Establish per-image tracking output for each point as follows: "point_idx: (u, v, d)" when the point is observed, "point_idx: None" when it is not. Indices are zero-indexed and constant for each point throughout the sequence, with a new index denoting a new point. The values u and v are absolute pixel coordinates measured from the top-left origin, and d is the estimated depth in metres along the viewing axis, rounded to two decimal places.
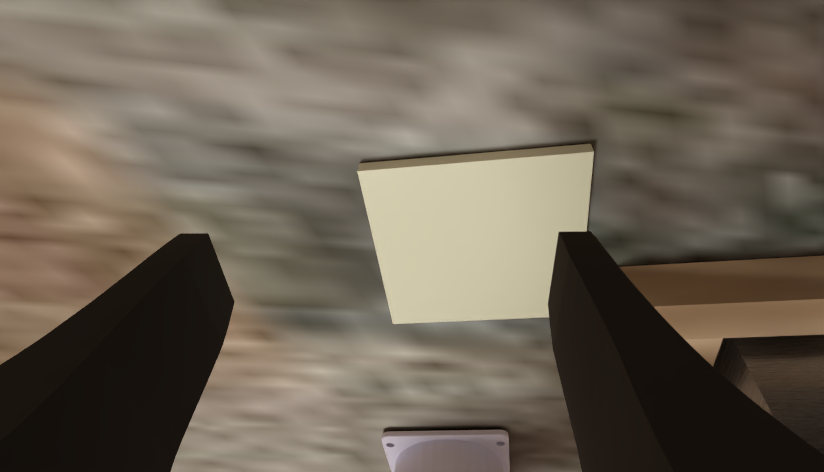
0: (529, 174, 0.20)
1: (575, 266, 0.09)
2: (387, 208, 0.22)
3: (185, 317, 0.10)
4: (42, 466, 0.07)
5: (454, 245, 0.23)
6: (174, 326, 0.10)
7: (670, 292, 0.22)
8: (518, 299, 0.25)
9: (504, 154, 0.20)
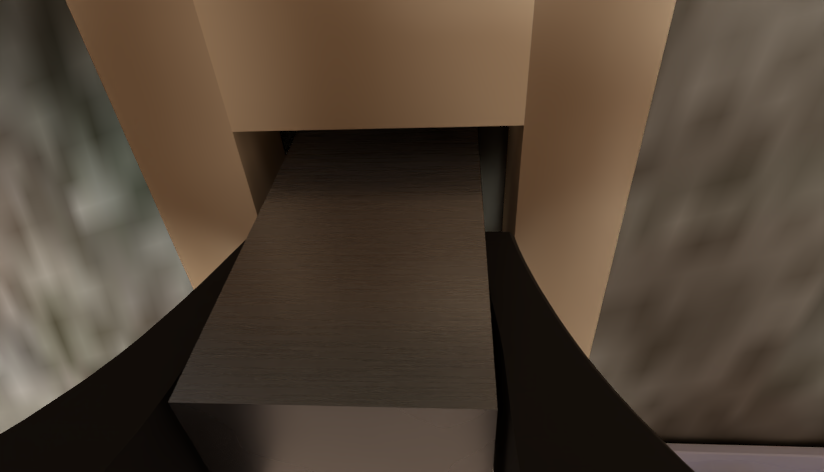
0: None
1: None
2: None
3: None
4: (157, 470, 0.07)
5: None
6: None
7: None
8: None
9: None
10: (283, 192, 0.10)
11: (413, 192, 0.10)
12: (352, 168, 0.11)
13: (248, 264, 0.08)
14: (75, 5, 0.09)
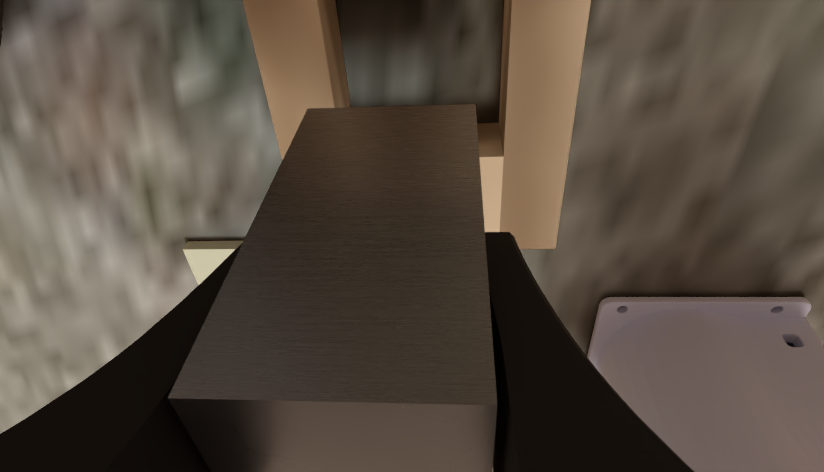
0: None
1: None
2: None
3: None
4: (157, 470, 0.07)
5: None
6: None
7: None
8: None
9: None
10: (283, 189, 0.10)
11: (413, 190, 0.10)
12: (352, 165, 0.10)
13: (248, 261, 0.08)
14: None
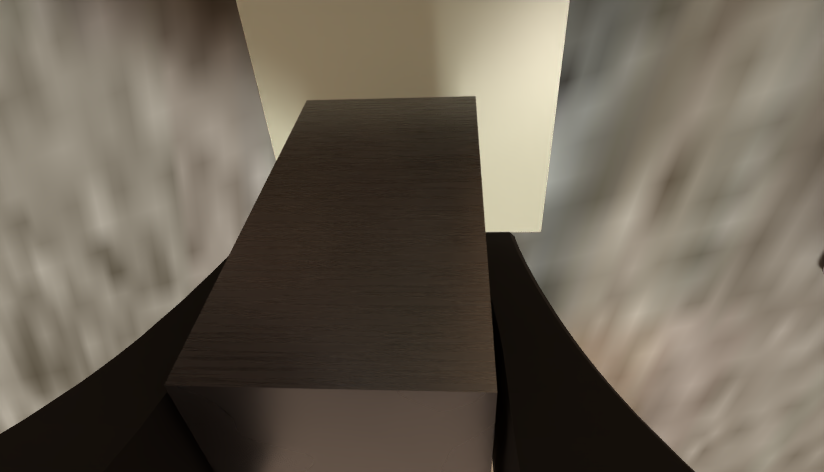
0: (275, 54, 0.15)
1: None
2: None
3: None
4: (157, 470, 0.07)
5: None
6: None
7: None
8: (514, 63, 0.15)
9: (260, 81, 0.16)
10: (281, 179, 0.10)
11: (412, 180, 0.10)
12: (351, 156, 0.10)
13: (246, 250, 0.08)
14: None
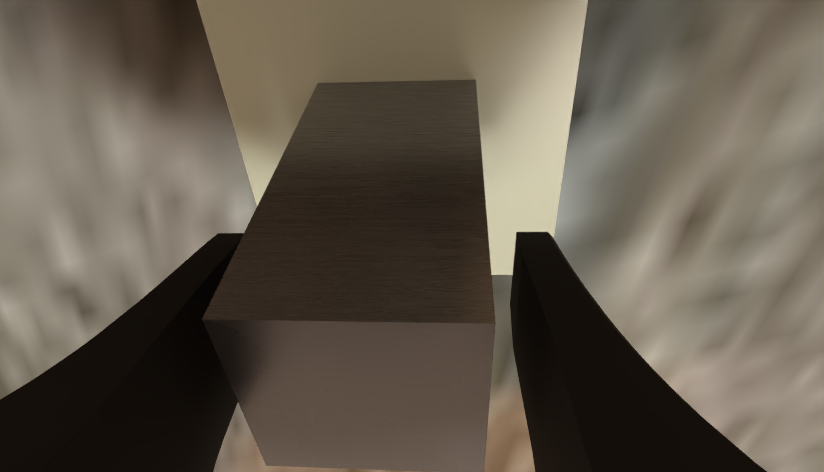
0: (251, 85, 0.14)
1: (527, 266, 0.09)
2: None
3: None
4: (102, 468, 0.07)
5: None
6: None
7: None
8: (521, 96, 0.13)
9: (235, 114, 0.15)
10: (297, 151, 0.11)
11: (418, 152, 0.10)
12: (361, 131, 0.11)
13: (268, 210, 0.09)
14: None
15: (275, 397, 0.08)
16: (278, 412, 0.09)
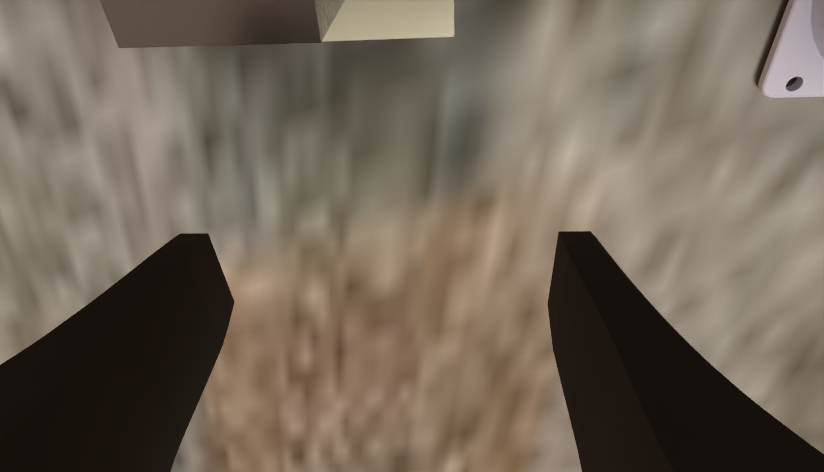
0: None
1: (575, 266, 0.09)
2: None
3: (185, 317, 0.10)
4: (42, 466, 0.07)
5: None
6: (174, 326, 0.10)
7: None
8: None
9: None
10: None
11: None
12: None
13: None
14: None
15: None
16: None
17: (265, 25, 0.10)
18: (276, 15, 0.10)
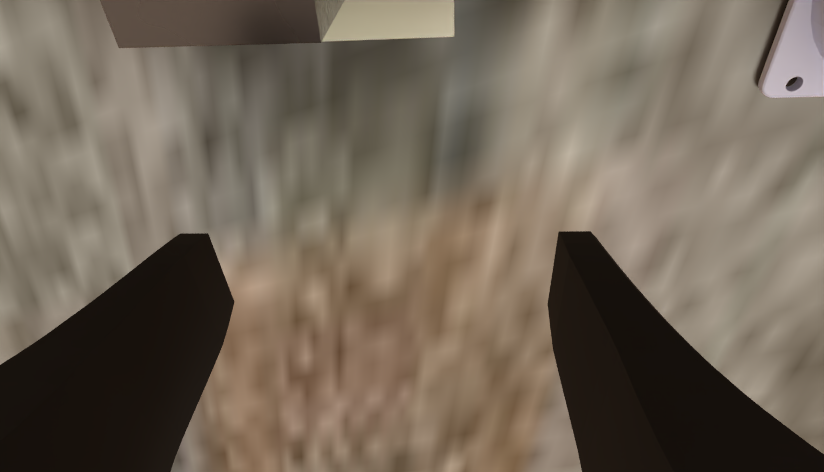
0: None
1: (575, 266, 0.09)
2: None
3: (185, 317, 0.10)
4: (42, 466, 0.07)
5: None
6: (174, 326, 0.10)
7: None
8: None
9: None
10: None
11: None
12: None
13: None
14: None
15: None
16: None
17: (265, 25, 0.10)
18: (276, 15, 0.10)
